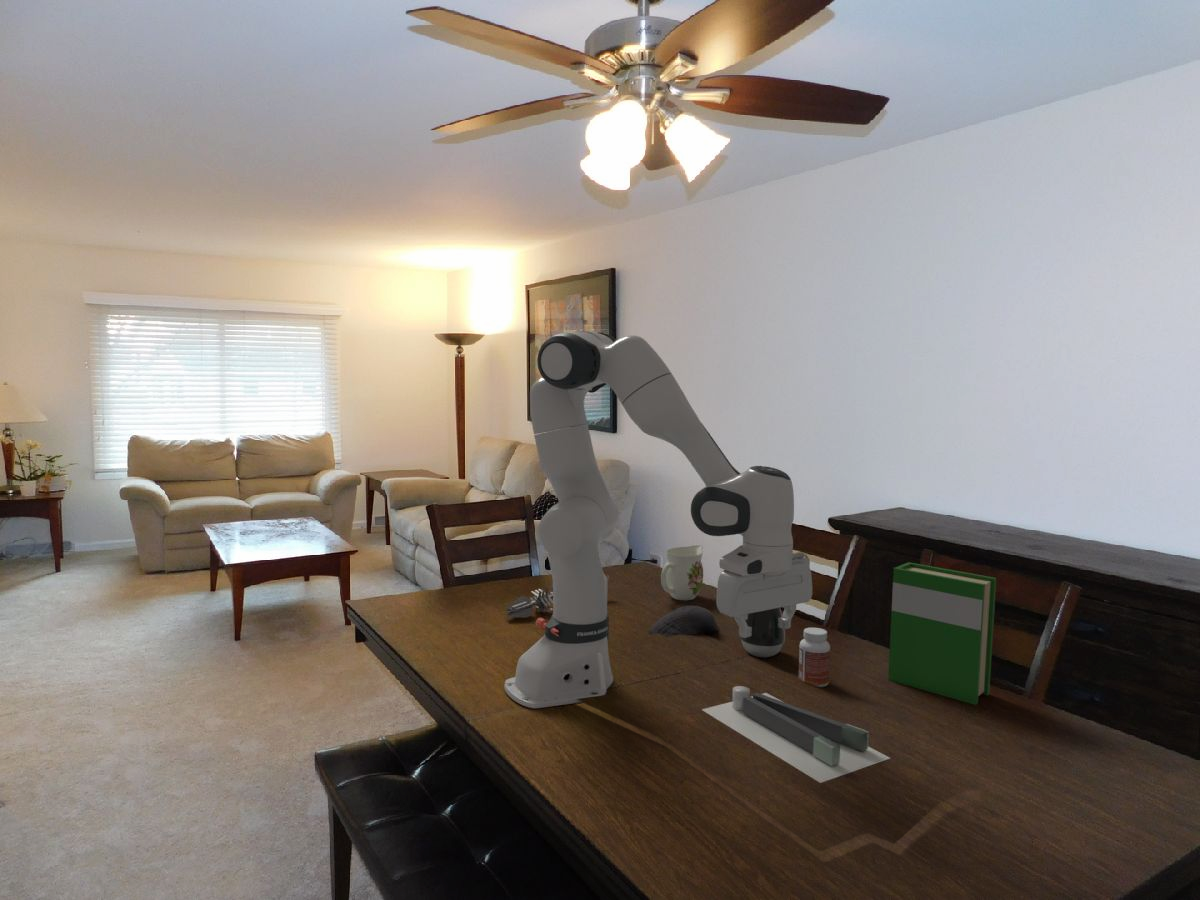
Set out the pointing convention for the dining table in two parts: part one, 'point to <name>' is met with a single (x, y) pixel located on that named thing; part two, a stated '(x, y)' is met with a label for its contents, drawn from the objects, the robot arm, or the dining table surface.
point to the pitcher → (683, 572)
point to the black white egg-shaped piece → (764, 633)
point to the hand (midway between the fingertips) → (765, 632)
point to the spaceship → (531, 603)
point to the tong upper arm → (820, 724)
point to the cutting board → (794, 746)
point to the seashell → (685, 622)
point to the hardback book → (942, 631)
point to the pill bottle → (814, 657)
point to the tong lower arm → (786, 726)
